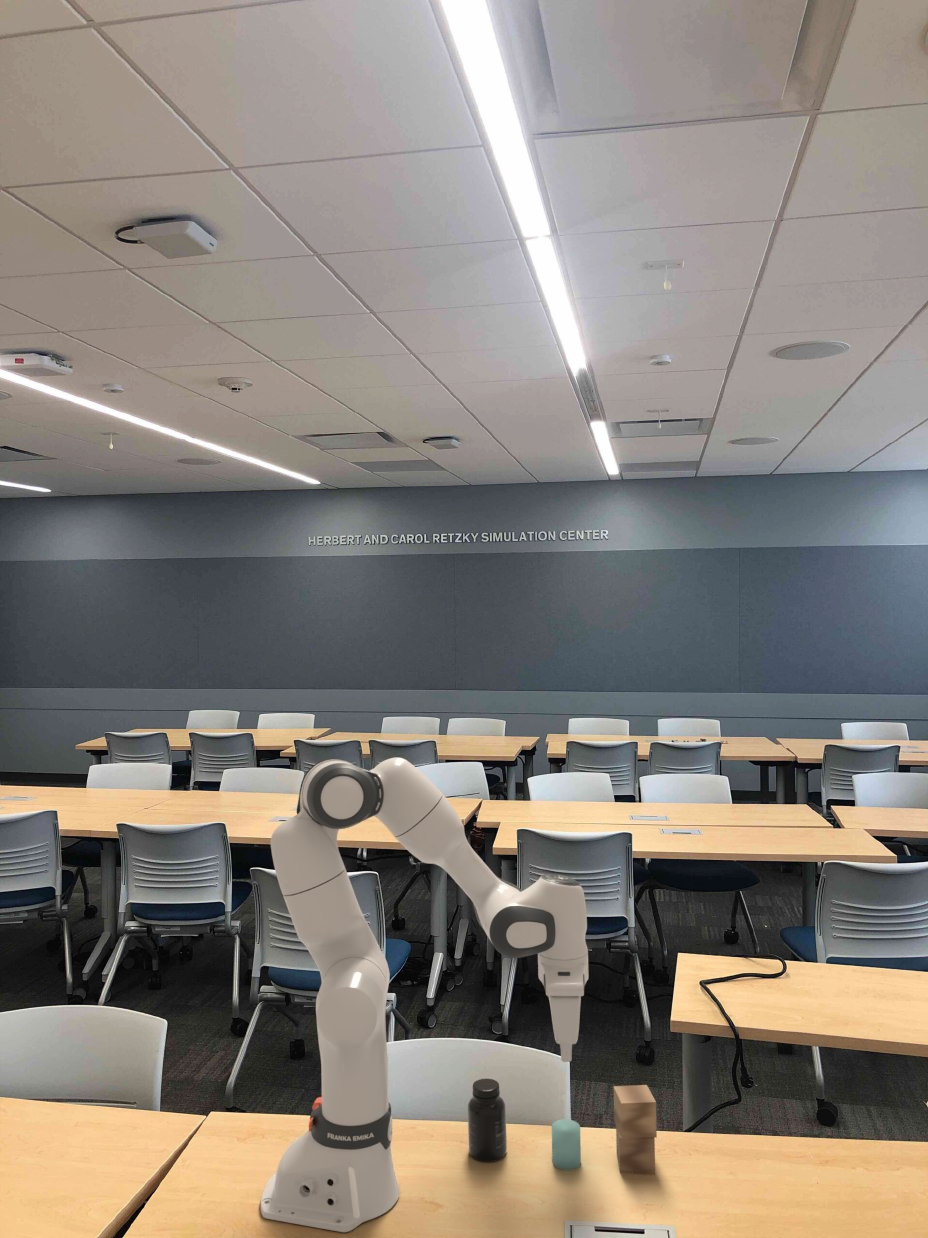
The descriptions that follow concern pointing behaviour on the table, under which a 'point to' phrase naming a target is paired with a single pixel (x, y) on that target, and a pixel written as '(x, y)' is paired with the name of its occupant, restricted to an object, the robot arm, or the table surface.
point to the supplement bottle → (487, 1122)
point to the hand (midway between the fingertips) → (565, 1047)
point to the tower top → (635, 1112)
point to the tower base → (635, 1155)
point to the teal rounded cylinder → (566, 1144)
